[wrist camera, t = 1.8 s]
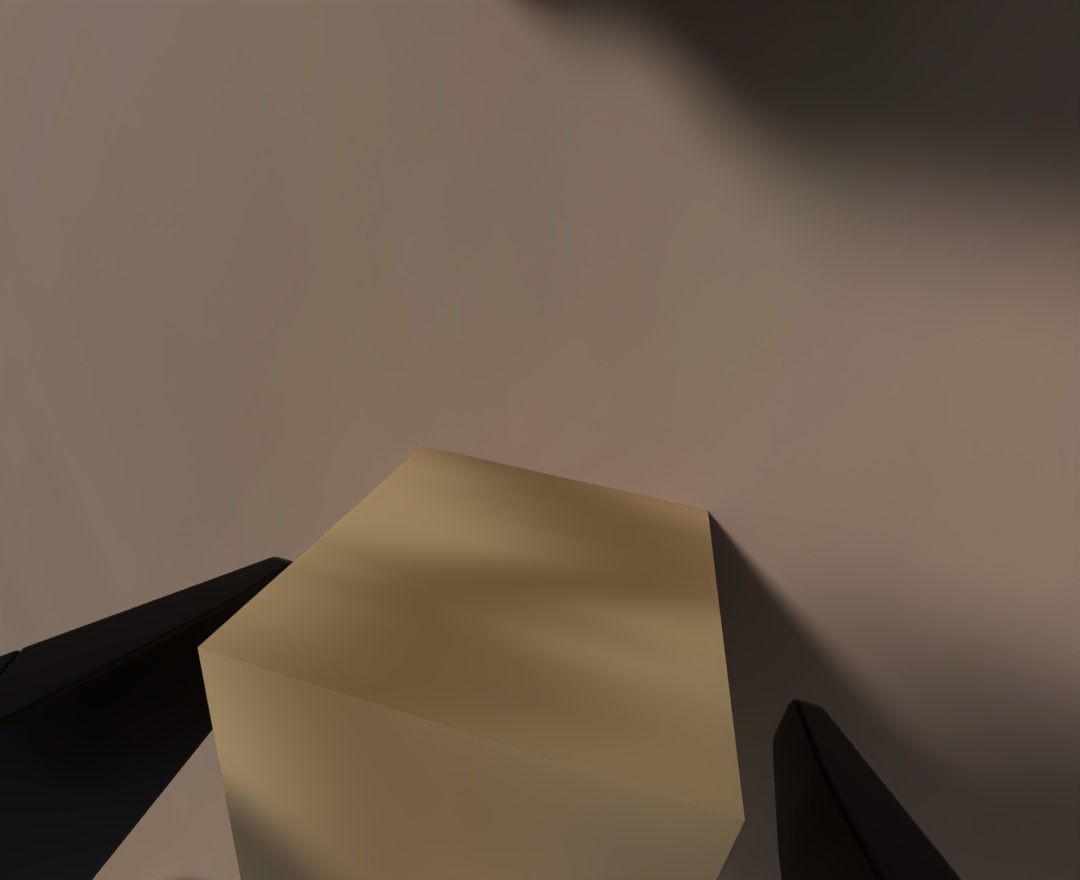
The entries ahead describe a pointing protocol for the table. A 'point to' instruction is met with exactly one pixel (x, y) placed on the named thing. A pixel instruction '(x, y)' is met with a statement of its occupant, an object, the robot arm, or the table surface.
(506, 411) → the table surface
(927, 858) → the robot arm
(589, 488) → the oak cube
